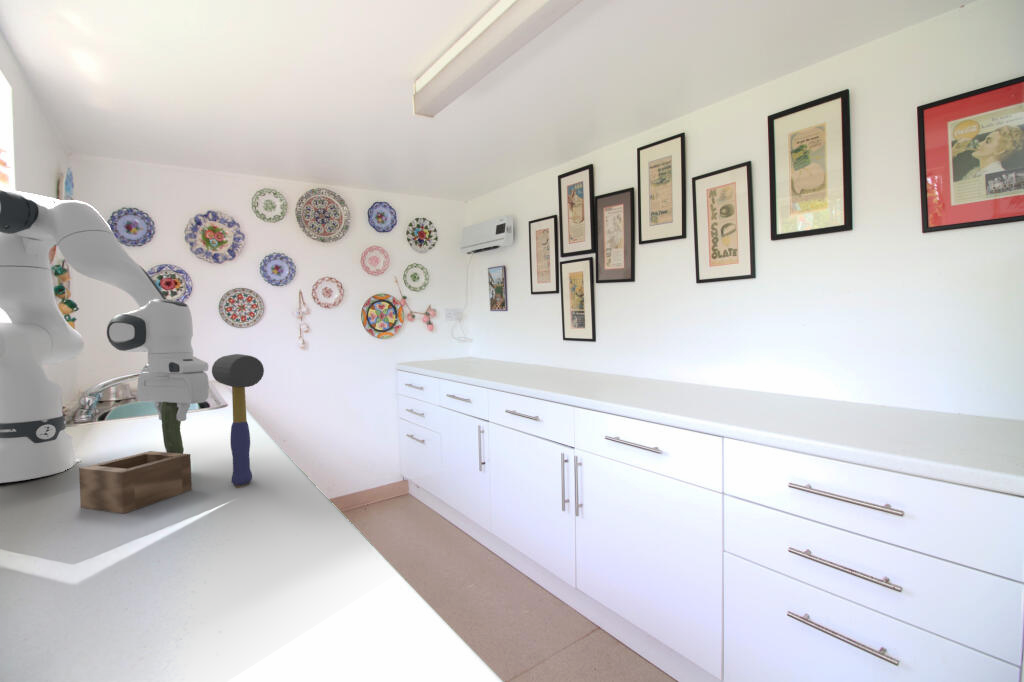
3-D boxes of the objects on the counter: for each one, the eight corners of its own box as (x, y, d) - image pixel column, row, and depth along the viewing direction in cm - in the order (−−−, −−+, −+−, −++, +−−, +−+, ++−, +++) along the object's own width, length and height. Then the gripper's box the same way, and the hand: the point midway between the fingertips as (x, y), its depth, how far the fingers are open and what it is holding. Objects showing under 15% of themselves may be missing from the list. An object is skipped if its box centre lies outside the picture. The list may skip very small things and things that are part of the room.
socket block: (80, 507, 87) (78, 468, 87) (151, 485, 99) (150, 451, 99) (123, 513, 83) (121, 472, 83) (191, 489, 95) (190, 454, 95)
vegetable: (165, 464, 103) (163, 382, 103) (160, 461, 106) (157, 381, 105) (187, 460, 106) (185, 380, 106) (182, 457, 109) (179, 379, 109)
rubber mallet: (271, 486, 96) (266, 353, 95) (233, 497, 90) (228, 355, 89) (249, 476, 104) (244, 353, 103) (213, 485, 98) (208, 354, 97)
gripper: (128, 365, 106) (129, 420, 106) (187, 365, 100) (188, 424, 100) (156, 363, 112) (157, 416, 112) (213, 364, 106) (214, 419, 106)
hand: (172, 420), depth 106 cm, fingers closed on vegetable, 4 cm apart
